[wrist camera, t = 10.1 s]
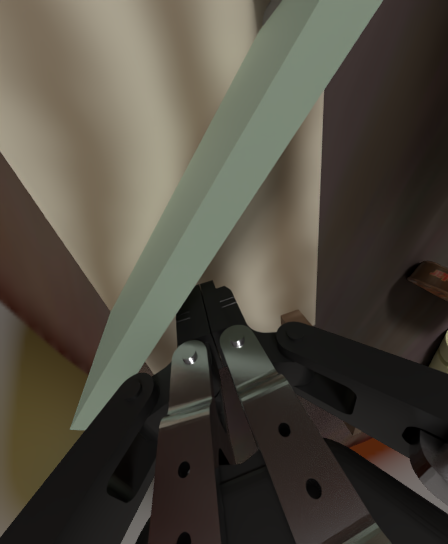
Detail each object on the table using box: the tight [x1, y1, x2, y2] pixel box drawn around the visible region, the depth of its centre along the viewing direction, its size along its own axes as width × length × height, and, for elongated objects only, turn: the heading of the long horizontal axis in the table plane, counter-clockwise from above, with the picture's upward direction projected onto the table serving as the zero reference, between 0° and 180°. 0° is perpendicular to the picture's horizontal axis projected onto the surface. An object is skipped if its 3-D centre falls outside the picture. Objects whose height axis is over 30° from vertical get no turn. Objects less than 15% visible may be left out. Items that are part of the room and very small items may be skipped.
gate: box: [70, 0, 383, 430], centre depth 9 cm, size 2×21×8 cm, turn 146°
